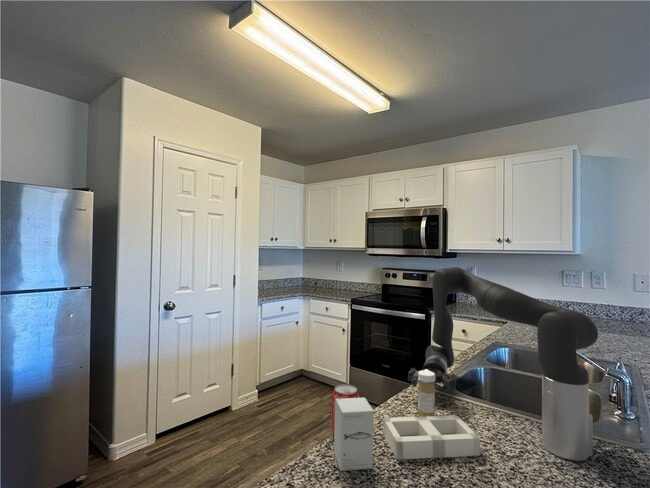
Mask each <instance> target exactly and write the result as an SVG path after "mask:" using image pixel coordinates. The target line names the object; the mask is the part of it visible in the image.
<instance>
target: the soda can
mask: <svg viewBox="0 0 650 488" xmlns="http://www.w3.org/2000/svg"><path fill="white" fill-rule="evenodd" d="M343 398H360V394H359V393H358V388H357V387H356V386H354V385H352V384H346V383H345V384H342V383H341V384H338V385H336V386H335V387H334V391H333V393H332V396H331V422H330V423H331V435H332V436H333V435H334V429H335V399H343Z"/></svg>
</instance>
